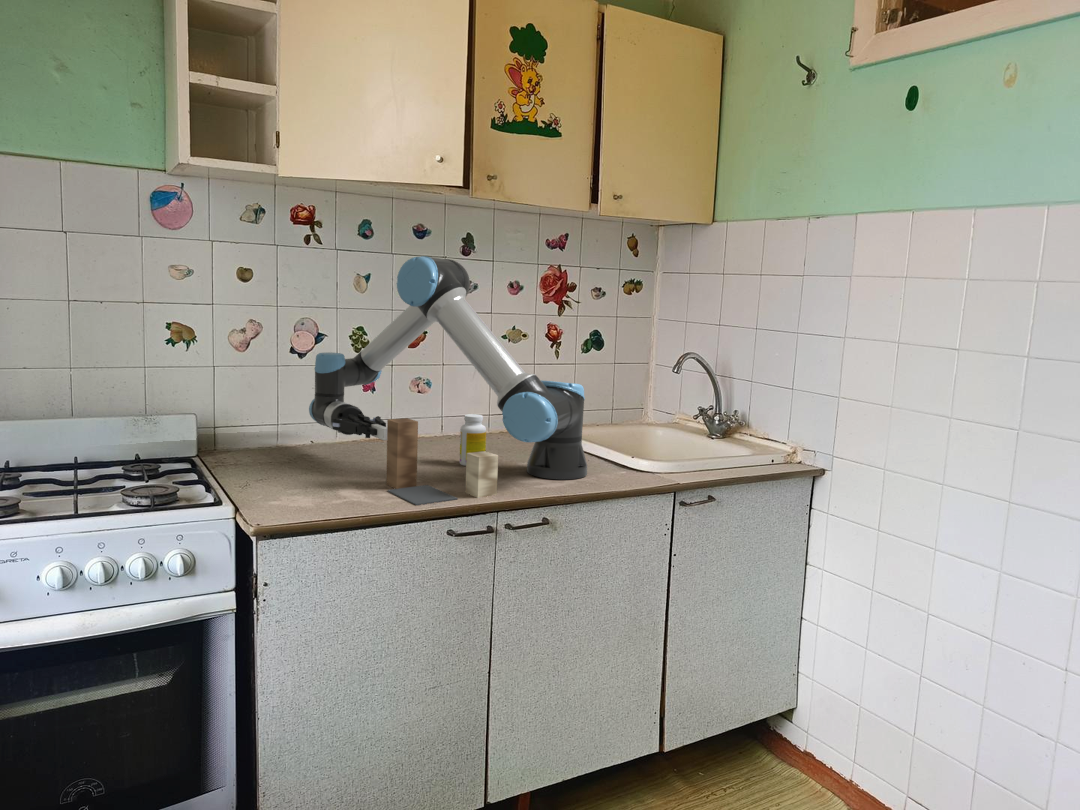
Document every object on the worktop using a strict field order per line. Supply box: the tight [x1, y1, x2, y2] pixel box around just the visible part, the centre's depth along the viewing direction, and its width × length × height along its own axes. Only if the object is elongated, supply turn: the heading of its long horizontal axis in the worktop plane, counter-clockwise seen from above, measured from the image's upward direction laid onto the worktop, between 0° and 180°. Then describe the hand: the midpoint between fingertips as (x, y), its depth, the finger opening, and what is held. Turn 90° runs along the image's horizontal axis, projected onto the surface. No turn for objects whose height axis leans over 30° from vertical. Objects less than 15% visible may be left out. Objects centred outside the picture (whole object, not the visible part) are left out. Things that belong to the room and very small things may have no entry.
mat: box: [386, 484, 458, 506], centre depth 171 cm, size 10×13×1 cm
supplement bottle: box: [459, 413, 487, 467], centre depth 202 cm, size 7×7×13 cm
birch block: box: [464, 450, 499, 499], centre depth 174 cm, size 5×5×9 cm
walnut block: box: [385, 417, 419, 489], centre depth 177 cm, size 5×5×15 cm
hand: (386, 434), depth 182 cm, fingers closed
